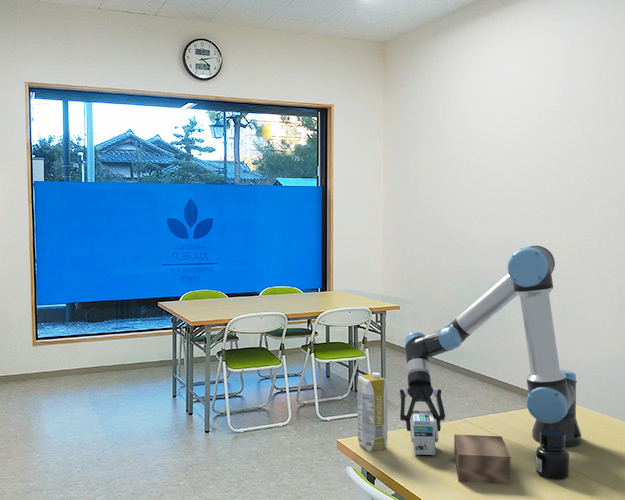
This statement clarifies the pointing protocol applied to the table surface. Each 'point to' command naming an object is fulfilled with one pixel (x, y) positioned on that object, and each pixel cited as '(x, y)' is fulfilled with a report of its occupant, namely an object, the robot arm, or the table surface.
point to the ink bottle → (552, 455)
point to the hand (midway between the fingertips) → (424, 440)
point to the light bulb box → (423, 432)
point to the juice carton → (372, 411)
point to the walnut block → (481, 459)
